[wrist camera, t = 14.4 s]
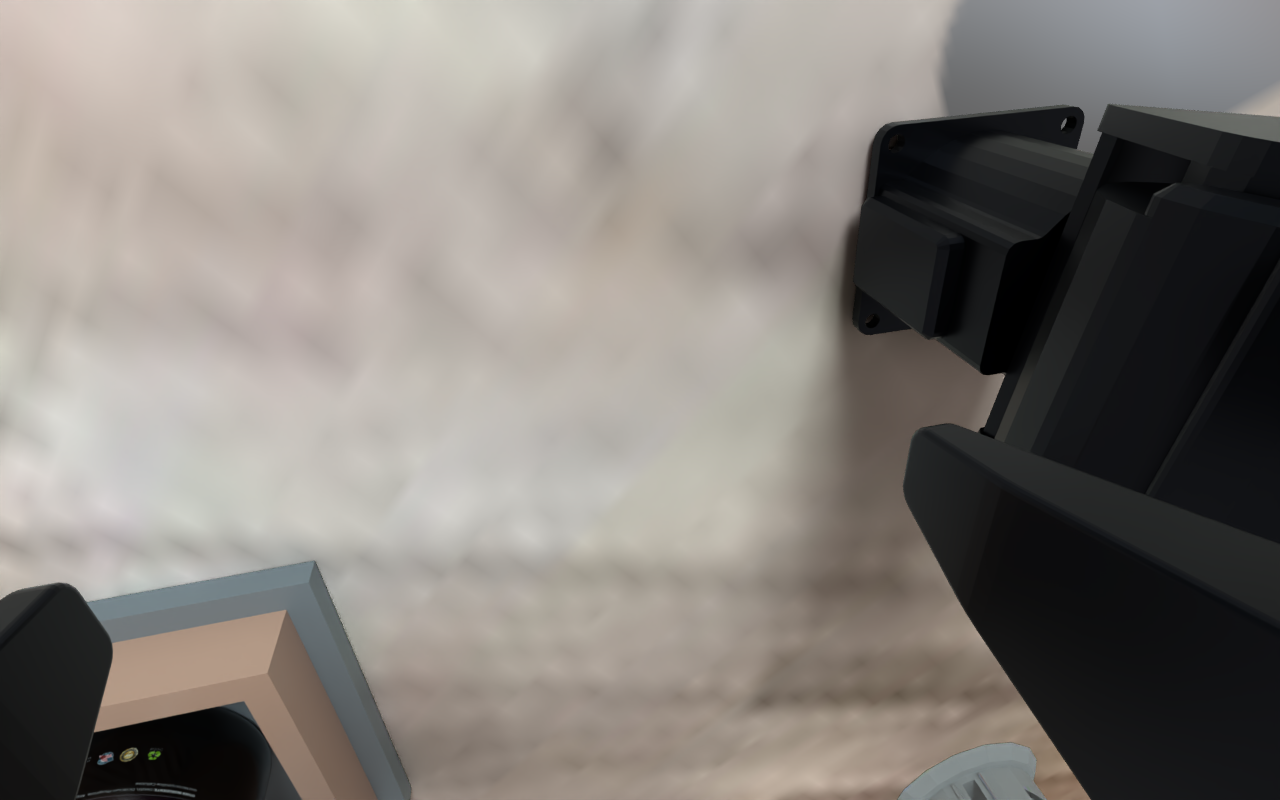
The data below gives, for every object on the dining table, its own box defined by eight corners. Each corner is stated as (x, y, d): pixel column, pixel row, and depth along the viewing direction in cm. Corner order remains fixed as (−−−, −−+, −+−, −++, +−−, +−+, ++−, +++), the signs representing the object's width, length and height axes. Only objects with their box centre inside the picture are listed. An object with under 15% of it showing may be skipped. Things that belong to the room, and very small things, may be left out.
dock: (314, 560, 23) (291, 644, 20) (411, 787, 30) (404, 873, 27) (-163, 647, 21) (-266, 755, 18) (66, 868, 28) (18, 970, 25)
